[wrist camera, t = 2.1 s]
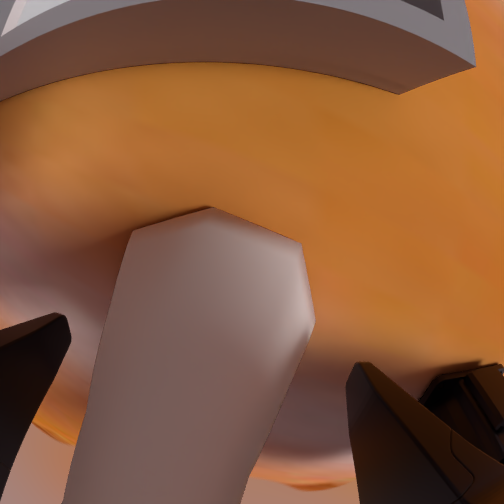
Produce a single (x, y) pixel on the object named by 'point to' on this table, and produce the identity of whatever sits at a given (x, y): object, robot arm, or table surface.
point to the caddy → (236, 38)
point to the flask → (192, 362)
